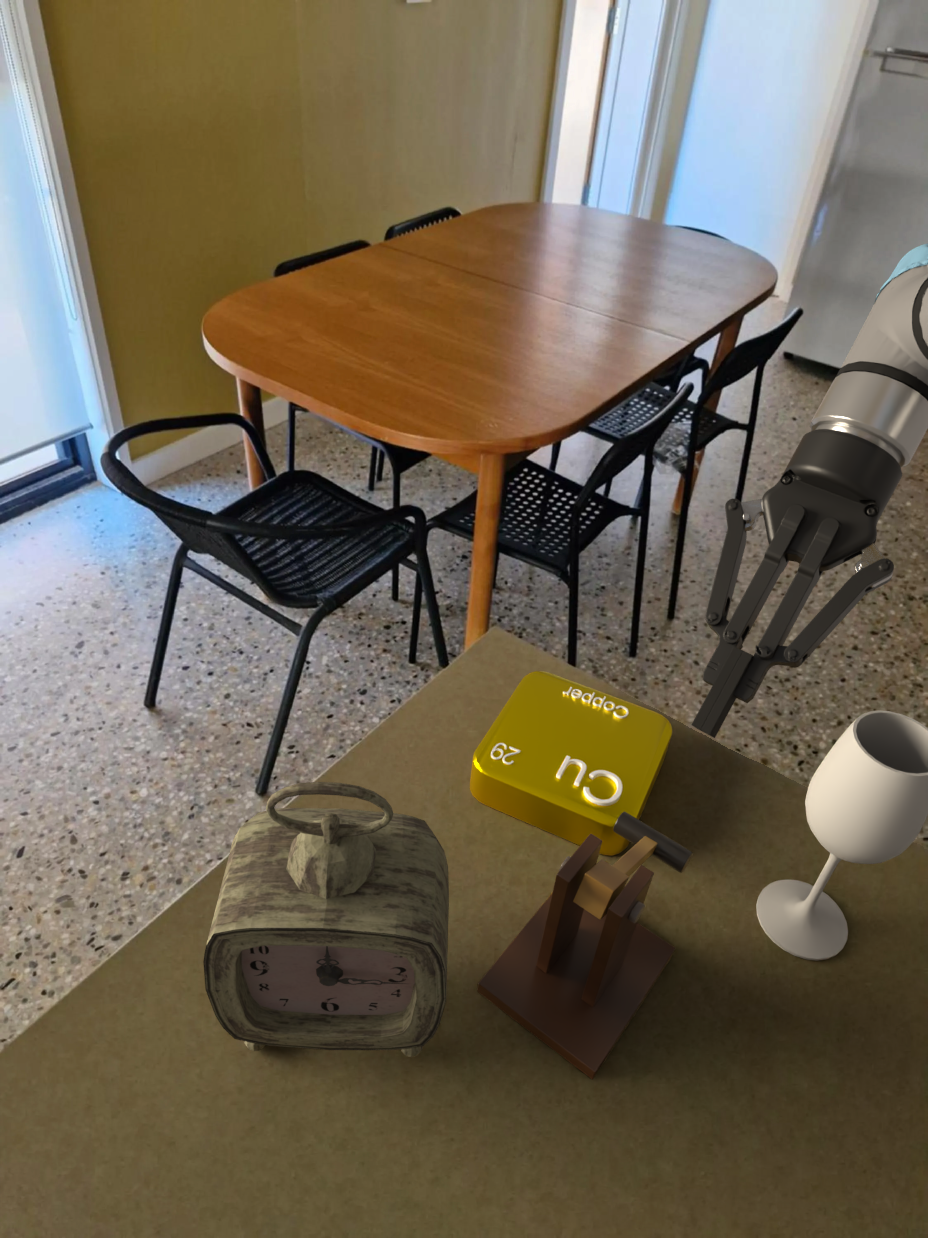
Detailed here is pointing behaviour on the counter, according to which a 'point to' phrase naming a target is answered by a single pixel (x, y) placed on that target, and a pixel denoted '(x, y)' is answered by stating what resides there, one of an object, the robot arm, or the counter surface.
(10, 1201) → the counter surface
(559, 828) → the element tile
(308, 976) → the tabletop clock
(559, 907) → the wooden lever stand
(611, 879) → the lever
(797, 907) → the wineglass
